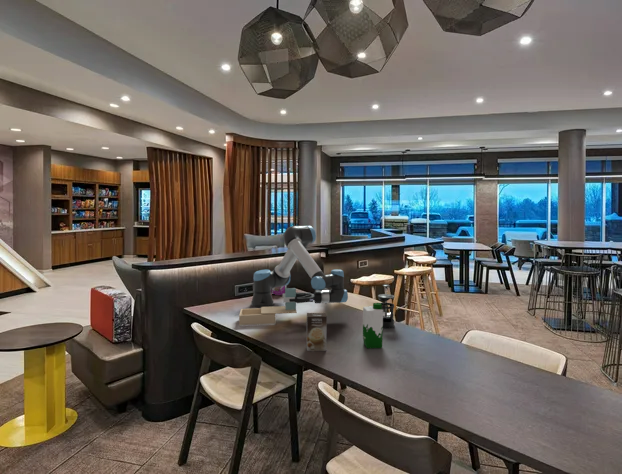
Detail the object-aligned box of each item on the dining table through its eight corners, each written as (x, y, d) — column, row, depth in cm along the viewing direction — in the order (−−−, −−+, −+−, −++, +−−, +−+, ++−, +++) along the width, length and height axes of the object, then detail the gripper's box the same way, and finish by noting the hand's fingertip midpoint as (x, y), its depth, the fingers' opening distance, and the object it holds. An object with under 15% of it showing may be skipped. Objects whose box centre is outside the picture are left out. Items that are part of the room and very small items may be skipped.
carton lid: (294, 306, 220) (294, 286, 219) (296, 312, 206) (296, 291, 205) (261, 307, 218) (261, 287, 217) (261, 314, 204) (260, 292, 203)
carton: (274, 317, 219) (274, 307, 218) (275, 324, 205) (275, 314, 205) (241, 318, 216) (240, 308, 216) (239, 326, 203) (239, 315, 202)
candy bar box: (271, 295, 278) (270, 274, 277) (272, 293, 283) (272, 272, 282) (285, 295, 277) (285, 274, 276) (286, 294, 282) (286, 273, 281)
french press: (399, 326, 201) (399, 285, 200) (387, 329, 196) (388, 287, 194) (382, 321, 211) (383, 282, 209) (371, 324, 205) (371, 284, 203)
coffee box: (306, 351, 166) (306, 316, 165) (306, 346, 172) (306, 312, 171) (326, 351, 166) (326, 316, 165) (325, 345, 172) (325, 312, 171)
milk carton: (384, 348, 169) (385, 306, 167) (365, 349, 168) (365, 306, 167) (379, 341, 177) (379, 301, 176) (361, 342, 177) (361, 301, 175)
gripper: (324, 307, 204) (283, 309, 201) (318, 298, 225) (282, 299, 223) (324, 294, 203) (283, 295, 200) (318, 286, 225) (282, 287, 222)
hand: (283, 297), depth 212 cm, fingers open, 9 cm apart
